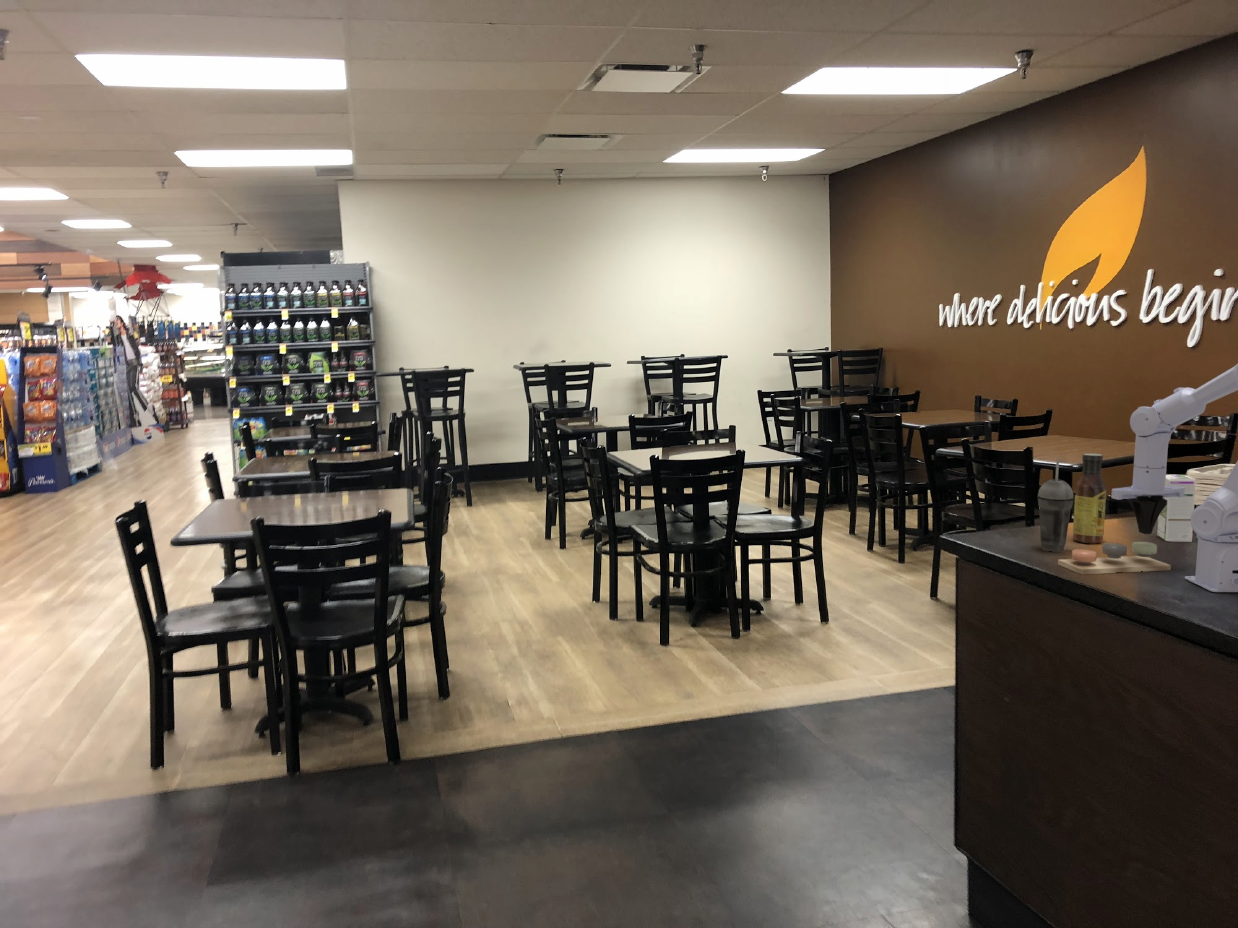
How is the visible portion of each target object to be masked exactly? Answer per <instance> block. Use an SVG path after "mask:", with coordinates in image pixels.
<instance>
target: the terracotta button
mask: <svg viewBox="0 0 1238 928" xmlns="http://www.w3.org/2000/svg"><path fill="white" fill-rule="evenodd" d="M1071 551H1072V552H1071V559H1073V560H1075V561H1077V563H1078V564H1081V565H1090V564H1091V562H1095V561H1096V558H1098V557H1097V554H1098V553H1097V551H1095V550H1091V549H1083V548H1081V549H1080V548H1078V549H1077V548H1076V549H1072V550H1071Z"/></svg>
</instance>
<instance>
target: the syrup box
mask: <svg viewBox="0 0 1238 928" xmlns="http://www.w3.org/2000/svg"><path fill="white" fill-rule="evenodd" d="M1196 482H1197V481H1196V478H1193V477H1191V476H1188V475H1186V474H1175V473H1174V474H1166V480H1165V486H1179V487H1183V488H1185V493H1184V497H1163V499H1165V500H1167V505H1166V506H1165V507H1164V509H1163V510H1162V511H1161V513H1160V515H1159V516H1158V518H1157V521H1156V523H1157V525H1156V526H1157V527H1156V536H1157V537H1159V538H1160V539H1162V540H1163V541H1165V542H1172V543H1192V541H1193V531H1194V530H1193V528H1192V526H1191V522H1190V518H1191V514H1192V512H1193V510H1194V509H1195V497H1196V496H1195V495H1196Z"/></svg>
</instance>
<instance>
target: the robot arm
mask: <svg viewBox="0 0 1238 928" xmlns="http://www.w3.org/2000/svg"><path fill="white" fill-rule="evenodd" d="M1237 391H1238V363H1237V364H1236V365H1234V366H1233V367H1231V368H1229V369H1227V370H1226V371H1225V372H1223V373H1221V374H1219V375H1217V376H1216V377H1214V378H1212V379H1211V380H1209V381H1207V382H1205V383H1204V384H1202V385H1200V386H1199V387H1197V388H1196V389H1195V388H1192V387H1177V388H1175V389H1174V390H1173V393H1172V394H1171V395H1169V396H1167V397H1165V398H1162V399H1157V400H1154V401H1153V405H1151V406H1138V407H1137V409H1136V410H1134V411H1133V412H1132V413H1131V415H1130V418H1129V425H1130V429H1131V430H1132V432H1133V433H1134V434H1135V441H1134V442H1135V443H1134V453H1133V454H1134V457H1133V471H1132V473H1133V474H1132V485H1131V486H1126V487H1115V488H1112V489H1111V494H1110V495H1111V499H1114V500H1124V499H1125V500H1126V499H1127V501H1128V503H1129V505H1130V507H1131V508H1132V511H1133V514H1134V516H1135V519H1136V525H1137V528H1138V532H1139V533H1141V534H1143V535H1152V533H1153V530H1154V527H1155V526H1156V525H1155V524H1156V523H1157V521H1158V516H1159V515H1160V513H1161V511H1162V510H1163V509H1164V507H1165V506H1166V505H1167V500H1165V499H1163V497H1184V493H1185V488H1183V487H1179V486H1165V480H1166V475H1167V465H1168V464H1167V462H1168V450H1169V449H1168V448H1169V442H1171V436H1172V434H1173V432H1175V430H1176V428H1177V426H1180V425H1182V424H1184V423H1185V422H1188V421H1190V420H1192V419H1194V418H1196V417H1198V416H1200V415H1202V414H1204V412H1205V411H1206V406H1207V405H1208V404H1209V403H1211V402H1212V403H1213V402H1214V401H1216V400H1219V399H1221V398H1223V397H1225V396H1227V395H1229V394H1230V395H1231V394H1233V393H1235V392H1237ZM1190 522H1191V526H1192V528H1193V531H1194V533H1195V534H1196V538H1197V550H1196V551H1197V553H1196V564H1195V575H1190V576H1189V575H1187V576H1184V579H1185V580H1187V581H1189V582H1191V583H1193V584H1196V585H1198V586H1200V587H1202V588H1203V589H1205V590H1208V591H1210V592H1212V593H1238V460H1237V461H1236V463H1235V464H1234V466H1233V467H1232V469H1231V471H1230V472H1229V474H1228V476H1227V477H1226V478H1225V481H1224V482H1223V484H1222V486H1221V487H1219V488H1218V489H1217V490H1215V491H1214V492H1212V493H1211V494H1210V495H1208V496H1207V497H1206V499H1205V501H1204V502H1203V503H1202V504H1201V505H1198V506H1196V508H1195V507H1194V510H1193V512H1192V514H1191V518H1190Z"/></svg>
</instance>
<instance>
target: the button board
mask: <svg viewBox="0 0 1238 928" xmlns="http://www.w3.org/2000/svg"><path fill="white" fill-rule="evenodd" d="M1057 565H1058V566H1060V567H1063V568H1065V569H1068V570H1070V571H1072V572H1075V573H1077V574H1080V575H1082V576H1083V575H1098V574H1101V575H1102V574H1117V573H1116V572H1123V573H1141V571H1143V572H1157V571H1158V572H1159V571H1160V572H1161V571H1171V569H1172V568H1171V567H1172V565H1171V564H1168V563H1166V562H1162V561H1160V560H1157V559H1154V558H1151V557H1140V556H1137V555H1130V556H1128V555H1125V556H1121V558H1119V559H1115V558H1109V557H1107V556H1106V557H1096V561H1095V562H1091V564H1090V565H1081V564H1078V563H1077V561H1075V560H1073V559H1072V558H1067V559H1066V558H1065V559H1058V560H1057Z"/></svg>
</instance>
